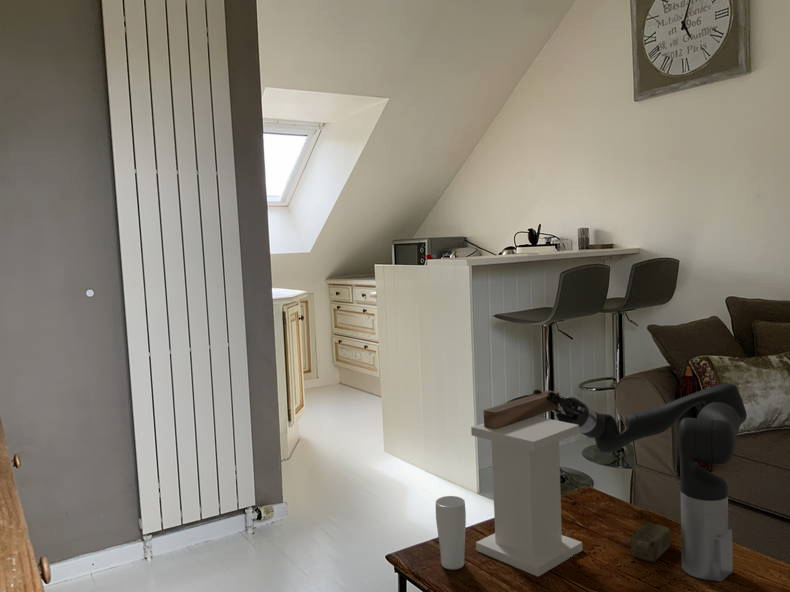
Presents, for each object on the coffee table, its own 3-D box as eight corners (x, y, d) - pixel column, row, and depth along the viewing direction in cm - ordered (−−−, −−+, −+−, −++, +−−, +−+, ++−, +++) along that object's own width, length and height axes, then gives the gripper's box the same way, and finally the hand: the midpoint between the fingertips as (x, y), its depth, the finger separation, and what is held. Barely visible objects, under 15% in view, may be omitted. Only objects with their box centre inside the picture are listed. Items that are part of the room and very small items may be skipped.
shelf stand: (582, 550, 154) (578, 425, 151) (537, 576, 143) (533, 441, 140) (521, 527, 167) (517, 412, 165) (476, 550, 156) (471, 427, 154)
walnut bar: (559, 407, 167) (559, 392, 167) (495, 429, 151) (494, 412, 151) (548, 405, 170) (547, 390, 170) (484, 426, 154) (483, 410, 153)
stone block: (629, 558, 149) (628, 536, 149) (647, 539, 158) (647, 519, 158) (655, 565, 146) (654, 543, 145) (672, 546, 154) (671, 525, 154)
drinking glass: (472, 561, 151) (469, 498, 150) (460, 575, 145) (457, 509, 144) (446, 555, 154) (443, 493, 153) (432, 568, 148) (430, 504, 147)
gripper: (596, 433, 169) (561, 412, 159) (550, 424, 180) (515, 403, 169) (603, 406, 171) (569, 383, 161) (558, 398, 182) (523, 376, 171)
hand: (541, 394), depth 165 cm, fingers open, 3 cm apart
